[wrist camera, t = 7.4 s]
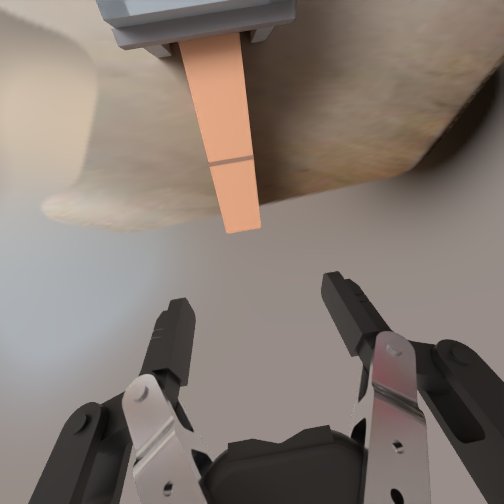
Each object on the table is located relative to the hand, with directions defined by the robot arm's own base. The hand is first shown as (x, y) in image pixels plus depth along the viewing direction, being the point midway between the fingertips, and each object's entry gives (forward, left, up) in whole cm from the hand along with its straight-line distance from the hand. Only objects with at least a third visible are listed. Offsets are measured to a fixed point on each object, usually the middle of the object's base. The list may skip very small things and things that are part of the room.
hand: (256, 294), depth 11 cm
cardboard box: (0, -6, -16) cm, 17 cm away
